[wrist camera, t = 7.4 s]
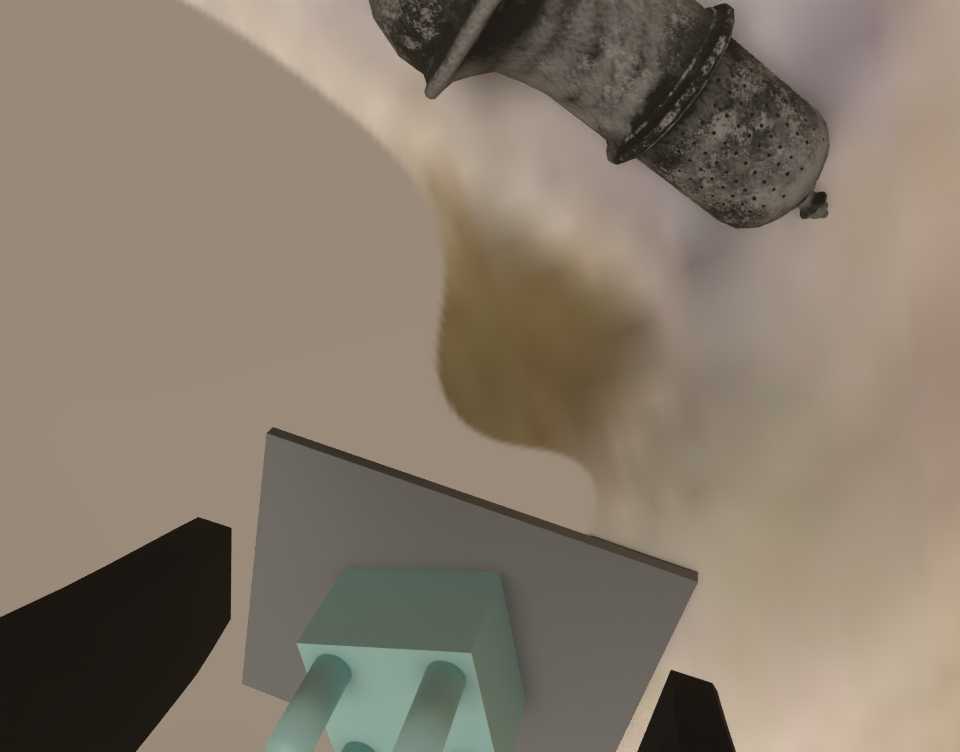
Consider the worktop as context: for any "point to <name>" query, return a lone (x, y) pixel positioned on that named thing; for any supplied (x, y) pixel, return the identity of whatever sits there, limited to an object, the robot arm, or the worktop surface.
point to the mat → (462, 547)
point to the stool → (407, 666)
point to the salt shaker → (638, 90)
